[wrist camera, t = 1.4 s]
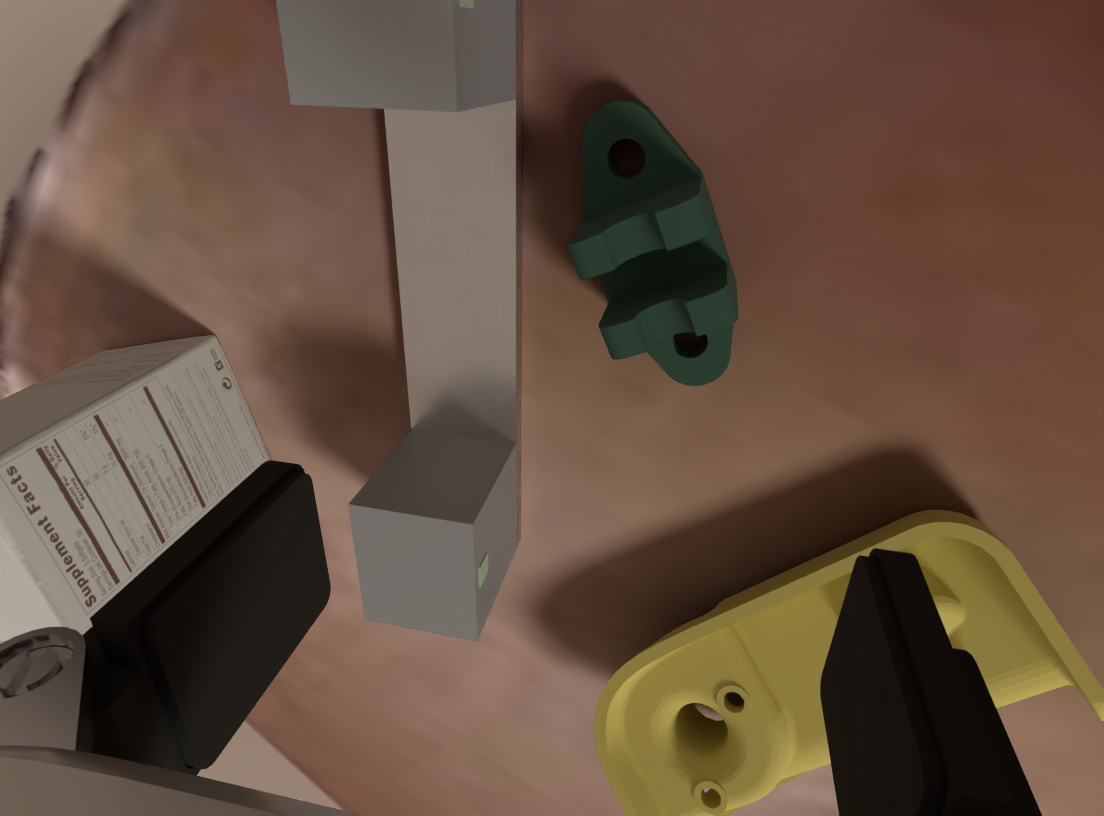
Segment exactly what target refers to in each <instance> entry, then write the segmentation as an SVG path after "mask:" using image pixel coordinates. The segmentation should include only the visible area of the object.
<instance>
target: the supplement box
mask: <svg viewBox="0 0 1104 816" xmlns="http://www.w3.org/2000/svg"><path fill="white" fill-rule="evenodd" d="M266 461H270V460H269V456H268V453H267V451H266V449H265V446H264V443H263V441H262V439H261V436H260V434H259V432H258V430H257V427H256V425H255V423H254V420H253V418H252V416H251V413H250V411H249V409H248V406H247V404H246V402H245V400H244V397H243V395H242V393H241V391H240V388H239V386H238V384H237V381H236V379H235V377H234V375H233V372H232V370H231V368H230V366H229V363H228V361H227V359H226V357H225V355H224V352H223V350H222V348H221V346H220V344H219V342H218V340H217V338H216V337H215V336H214V335H207V336H199V337H191V338H184V339H177V340H170V341H164V342H157V343H151V344H144V345H138V346H131V347H125V348H118V349H112V350H105V351H101V352H99V353H97V354H95V355H93V356H91V357H89V358H87V359H85V360H83V361H81V362H79V363H77V364H74V365H72V366H70V367H68V368H66V369H64V370H62V371H60V372H58V373H56V374H54V375H52V376H50V377H48V378H46V379H44V380H42V381H40V382H38V383H35V384H33V385H31V386H29V387H27V388H25V389H23V390H21V391H19V392H17V393H14V394H12V395H10V396H8V397H6V398H4V399H2V400H0V641H7V640H9V639H11V638H13V637H15V636H18V635H21V634H23V633H26V632H29V631H32V630H36V629H41V628H46V627H68V628H71V629H74V630H77V631H78V632H79V633H80V634H81V635H82V634H83V633H84V632H85V631H86V630H87V629H88V628H89V627H90V626H91V625H92V623H91V620H90V617H91V616H93V615H94V614H95V613H96V612H97V611H98V610H99V609H100V608H101V607H103V606H104V605H105V604H106V603H107V602H108V601H109V600H110V599H112V598H113V597H114V596H115V595H116V594H117V593H118V592H119V591H120V590H122V589H123V588H124V587H125V586H126V585H127V584H128V583H129V582H131V581H132V580H133V579H134V578H135V577H136V576H137V575H138V574H139V573H141V572H142V571H143V570H144V569H145V568H146V567H147V566H148V565H150V564H151V563H152V562H153V561H154V560H155V559H156V558H157V557H158V556H160V555H161V554H162V553H163V552H164V551H165V550H166V549H167V548H169V547H170V546H171V545H172V544H173V543H174V542H175V541H176V540H177V539H179V538H180V537H181V536H182V535H183V534H184V533H185V532H186V531H188V530H189V529H190V528H191V527H192V526H193V525H194V524H195V523H196V522H198V521H199V520H200V519H201V518H202V517H203V516H204V515H205V514H207V513H208V512H209V511H210V510H211V509H212V508H213V507H214V506H215V505H217V504H218V503H219V502H220V501H221V500H222V499H223V498H224V497H226V496H227V495H228V494H229V493H230V492H231V491H232V490H233V489H234V488H236V487H237V486H238V485H239V484H240V483H241V482H242V481H243V480H245V479H246V478H247V477H248V476H249V475H250V474H251V473H252V472H253V471H255V470H256V469H257V468H258V467H259V466H260V465H261V464H263V463H264V462H266Z"/></svg>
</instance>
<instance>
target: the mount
mask: <svg viewBox="0 0 1104 816" xmlns="http://www.w3.org/2000/svg"><path fill="white" fill-rule="evenodd" d="M621 139H632V140H634V141H636V142H638V143H639V144H640V145H641V146H642V148H643V150H644V152H645V165H644V168H643V169H642V170H641V171H640V172H639V173H637V174H635V175H624V174H621V173H619V172H618V171H617V170H616V169H615V168H614V166H613V164H612V161H611V151H612V148H613V146H614V144H615V143H616V142H617V141H619V140H621ZM582 171H583V224H582V225H581V226H580V227H579V228H578V230H577V231H576V232H575V233H574V235H573V236H572V237H571V238H570V239H569V241H568V242H567V243H566V246H567V248H568V251H569V253H570V256H571V258H572V261H573V263H574V266H575V268H576V271H577V273H578V276H579V278H580V279H581V280H584V279H589V278H592V277H595V276H598V275H599V277H600V280H601V282H602V285H603V288H604V290H605V293H606V295H607V298H608V300H609V303H608V305H607V308H606V310H605V312H604V314H603V316H602V319H601V321H600V323H599V328H600V331H601V333H602V336H603V338H604V341H605V343H606V346H607V348H608V351H609V353H610V356H611V358H612V359H624V358H628V357H631V356H634V355H638V354H641V353H644V352H646V351H647V352H648V353H649V354H650V356H651V357H652V358H653V359H654V360H655V361H656V362H657V363H658V364H659V366H660V367H661V368H662V369H663V370H664V371H665V372H666V373H667V374H668V375H669V376H670V377H671V378H672V379H674V380H675V381H677V382H679V383H681V384H685V385H690V386H699V385H704V384H708V383H710V382H712V381H714V380H716V379H717V378H718V377H720V376H721V375H722V374H723V372H724V371H725V370H726V368H727V366H728V363H729V360H730V352H731V341H732V331H733V323H734V322H736V321H737V319H738V306H737V289H736V279H735V276H734V273H733V269H732V266H731V263H730V260H729V257H728V253H727V250H726V247H725V244H724V241H723V237H722V234H721V231H720V228H719V225H718V221H717V218H716V215H715V212H714V209H713V205H712V202H711V199H710V196H709V193H708V189H707V186H706V183H705V180H704V176H703V173H702V172H701V170H700V169H699V168H698V167H697V166H696V164H695V163H694V162H693V161H692V159H691V158H690V157H689V156H688V155H687V153H686V152H685V151H684V150H683V148H682V147H681V146H680V145H679V144H678V142H677V141H676V140H675V139H674V137H673V136H672V135H671V134H670V133H669V131H668V130H667V129H666V128H665V127H664V125H663V124H662V123H661V122H660V120H659V119H658V118H657V117H656V116H655V114H654V113H653V112H652V111H651V110H650V109H649V108H648V107H647V106H645V105H644V104H642V103H640V102H637V101H634V100H618V101H614V102H612V103H609V104H607V105H605V106H603V107H601V108H600V109H599V110H597V111H596V112H595V113H594V114H593V115H592V117H591V118H590V119H589V121H588V123H587V125H586V127H585V130H584V133H583V139H582ZM683 332H693V333H695V334H696V335H697V337H698V336H701V335H704V334H706V335H707V340H706V341H705V343H704V344H703V345H701V346H700V347H698V348H694V349H688V348H684V347H682V346H680V345H679V344H678V343H677V341H676V340H675V337H674V334H678V333H683Z"/></svg>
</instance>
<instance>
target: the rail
mask: <svg viewBox="0 0 1104 816" xmlns="http://www.w3.org/2000/svg"><path fill="white" fill-rule="evenodd" d="M384 114H385V126H386V138H387V149H388V161H389V173H390V185H391V196H392V208H393V220H394V232H395V244H396V255H397V267H398V279H399V291H400V303H401V314H402V326H403V338H404V350H405V362H406V373H407V385H408V397H409V409H410V421H411V429H413V430H421V431H428V432H435V433H442V434H449V435H457V436H464V437H471V438H478V439H485V440H493V441H500V442H507V443H514V444H516V548H517V546H518V544H519V541H520V511H521V198H522V0H516V100H512V101H507V102H503V103H498V104H493V105H488V106H484V107H479V108H474V109H470V110H465V111H460V112H443V111H422V110H400V109H384Z"/></svg>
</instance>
